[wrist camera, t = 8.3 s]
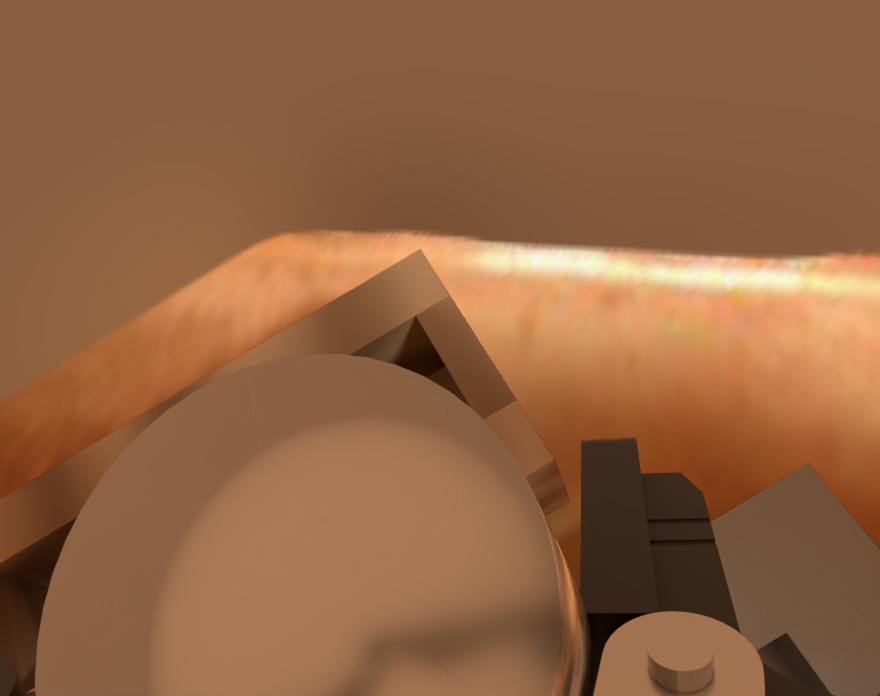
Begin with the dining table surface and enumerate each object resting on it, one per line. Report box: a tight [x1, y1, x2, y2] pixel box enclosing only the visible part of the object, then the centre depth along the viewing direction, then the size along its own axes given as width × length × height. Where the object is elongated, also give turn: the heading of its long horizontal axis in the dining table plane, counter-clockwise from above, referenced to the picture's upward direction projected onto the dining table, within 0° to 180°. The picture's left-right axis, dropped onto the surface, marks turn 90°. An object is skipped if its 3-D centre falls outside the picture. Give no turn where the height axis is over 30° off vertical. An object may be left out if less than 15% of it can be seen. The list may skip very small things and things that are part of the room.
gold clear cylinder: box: [35, 354, 594, 696], centre depth 9 cm, size 3×3×12 cm
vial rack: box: [0, 249, 569, 693], centre depth 30 cm, size 22×10×6 cm, turn 118°
